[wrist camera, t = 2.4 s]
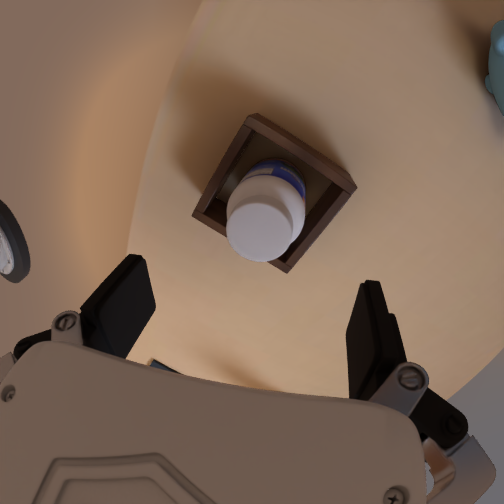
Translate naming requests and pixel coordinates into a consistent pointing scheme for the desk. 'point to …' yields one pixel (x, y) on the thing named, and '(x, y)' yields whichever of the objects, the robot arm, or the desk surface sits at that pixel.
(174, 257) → the desk surface
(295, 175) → the pill bottle
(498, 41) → the teapot
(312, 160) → the caddy
